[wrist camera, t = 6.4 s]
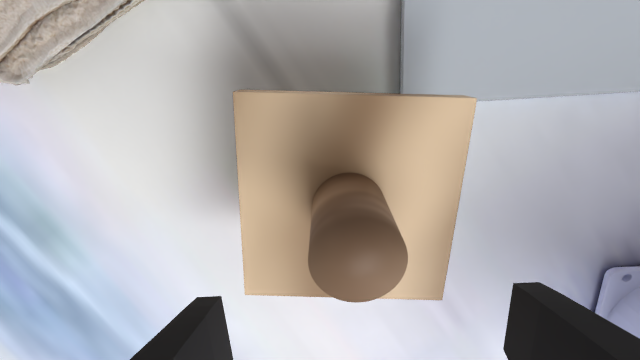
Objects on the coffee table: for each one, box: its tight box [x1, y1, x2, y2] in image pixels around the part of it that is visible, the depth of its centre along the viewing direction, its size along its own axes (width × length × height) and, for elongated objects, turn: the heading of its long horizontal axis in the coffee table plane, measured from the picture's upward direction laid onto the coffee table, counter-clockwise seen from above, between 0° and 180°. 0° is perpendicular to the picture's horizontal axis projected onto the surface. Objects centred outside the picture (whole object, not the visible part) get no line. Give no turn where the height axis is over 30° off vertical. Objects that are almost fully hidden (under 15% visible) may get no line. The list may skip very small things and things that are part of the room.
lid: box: [233, 90, 477, 302], centre depth 13 cm, size 9×9×5 cm
